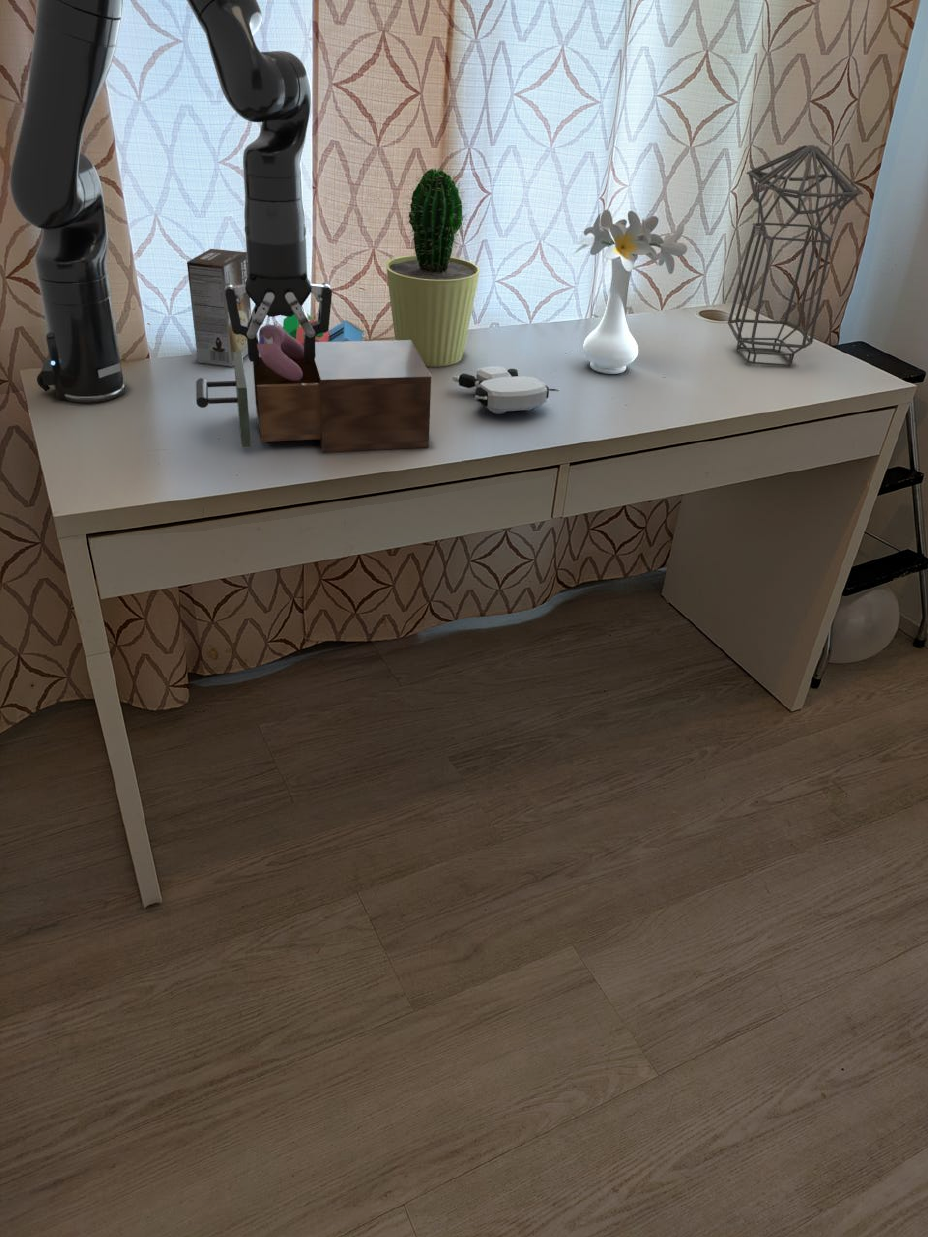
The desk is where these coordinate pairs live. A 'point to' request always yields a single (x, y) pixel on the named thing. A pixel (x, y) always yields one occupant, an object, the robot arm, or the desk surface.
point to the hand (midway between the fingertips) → (282, 362)
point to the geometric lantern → (847, 192)
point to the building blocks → (336, 334)
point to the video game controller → (280, 351)
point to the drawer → (273, 402)
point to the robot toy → (505, 389)
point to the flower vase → (623, 283)
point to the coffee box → (217, 305)
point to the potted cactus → (433, 275)
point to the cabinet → (372, 395)
